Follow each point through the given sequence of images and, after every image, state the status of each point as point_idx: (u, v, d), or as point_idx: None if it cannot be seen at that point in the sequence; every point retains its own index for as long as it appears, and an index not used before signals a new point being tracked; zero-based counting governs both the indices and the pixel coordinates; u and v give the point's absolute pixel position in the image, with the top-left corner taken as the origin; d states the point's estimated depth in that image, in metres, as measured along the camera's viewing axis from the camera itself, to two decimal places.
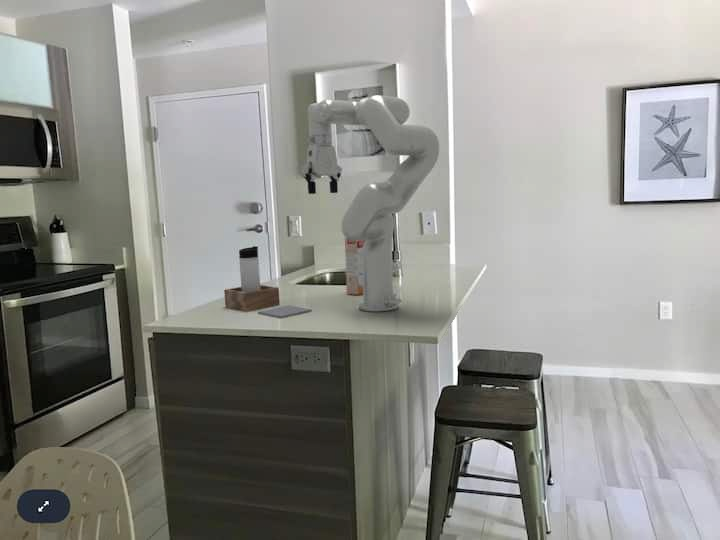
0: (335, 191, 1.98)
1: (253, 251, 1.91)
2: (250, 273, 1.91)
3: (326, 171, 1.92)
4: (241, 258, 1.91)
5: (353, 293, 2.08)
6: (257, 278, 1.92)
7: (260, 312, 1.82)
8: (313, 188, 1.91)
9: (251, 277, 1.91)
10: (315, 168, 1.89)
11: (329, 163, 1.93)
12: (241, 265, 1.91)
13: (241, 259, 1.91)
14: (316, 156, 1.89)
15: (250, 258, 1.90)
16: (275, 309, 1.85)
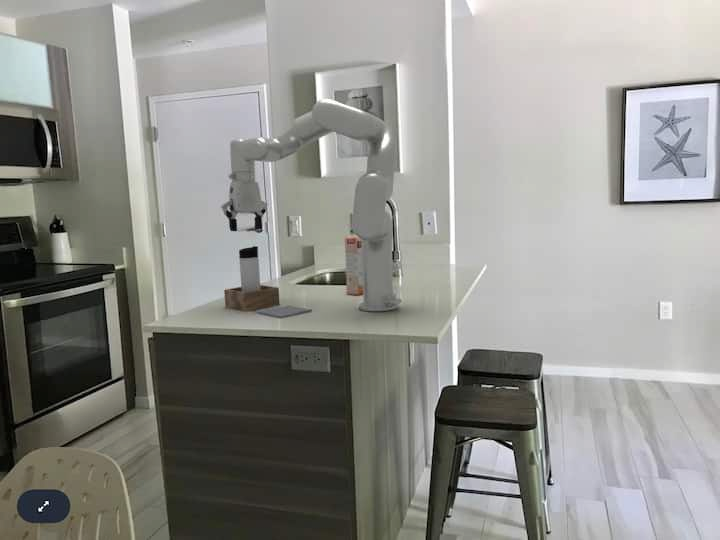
0: (259, 227, 1.94)
1: (253, 251, 1.91)
2: (250, 273, 1.91)
3: (248, 208, 1.89)
4: (241, 258, 1.91)
5: (353, 293, 2.08)
6: (257, 278, 1.92)
7: (260, 312, 1.82)
8: (234, 225, 1.87)
9: (251, 277, 1.91)
10: (236, 205, 1.86)
11: (252, 200, 1.89)
12: (241, 265, 1.91)
13: (241, 259, 1.91)
14: (237, 193, 1.86)
15: (250, 258, 1.90)
16: (275, 309, 1.85)
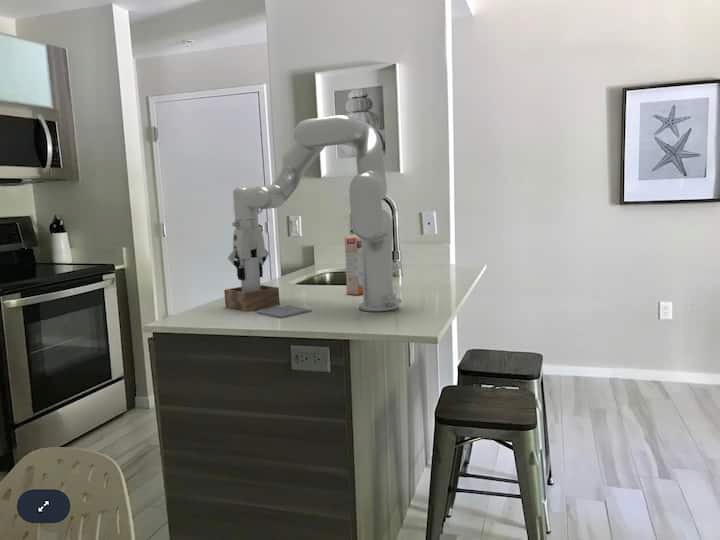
0: (260, 276, 1.95)
1: (253, 251, 1.91)
2: (251, 273, 1.91)
3: None
4: None
5: (353, 293, 2.08)
6: (257, 278, 1.93)
7: (260, 312, 1.82)
8: (242, 274, 1.90)
9: (251, 276, 1.91)
10: (240, 253, 1.88)
11: (255, 246, 1.91)
12: None
13: None
14: (241, 241, 1.88)
15: (251, 258, 1.90)
16: (275, 309, 1.85)
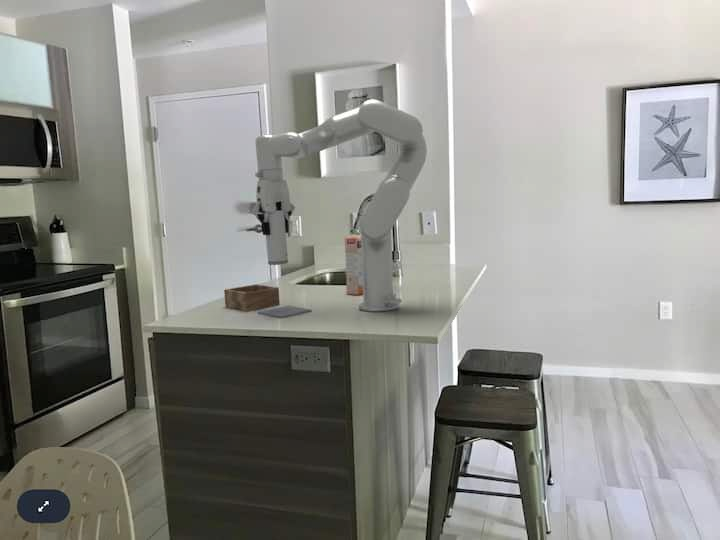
0: (286, 231, 1.83)
1: (278, 203, 1.78)
2: (276, 227, 1.78)
3: None
4: None
5: (353, 293, 2.08)
6: (283, 233, 1.80)
7: (260, 312, 1.82)
8: (267, 229, 1.78)
9: (276, 231, 1.78)
10: (264, 205, 1.75)
11: (280, 199, 1.79)
12: None
13: None
14: (265, 193, 1.75)
15: (276, 211, 1.78)
16: (275, 309, 1.85)
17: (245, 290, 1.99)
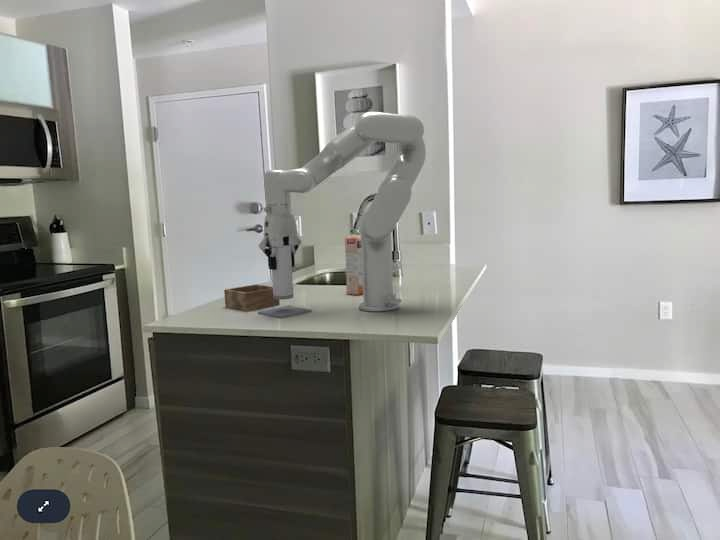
0: (292, 265, 1.82)
1: (286, 238, 1.77)
2: (283, 262, 1.77)
3: None
4: None
5: (353, 293, 2.08)
6: (289, 267, 1.79)
7: (260, 312, 1.82)
8: (273, 264, 1.77)
9: (283, 266, 1.78)
10: (272, 240, 1.74)
11: (288, 234, 1.78)
12: None
13: None
14: (273, 228, 1.74)
15: (283, 246, 1.77)
16: (275, 309, 1.85)
17: (245, 290, 1.99)
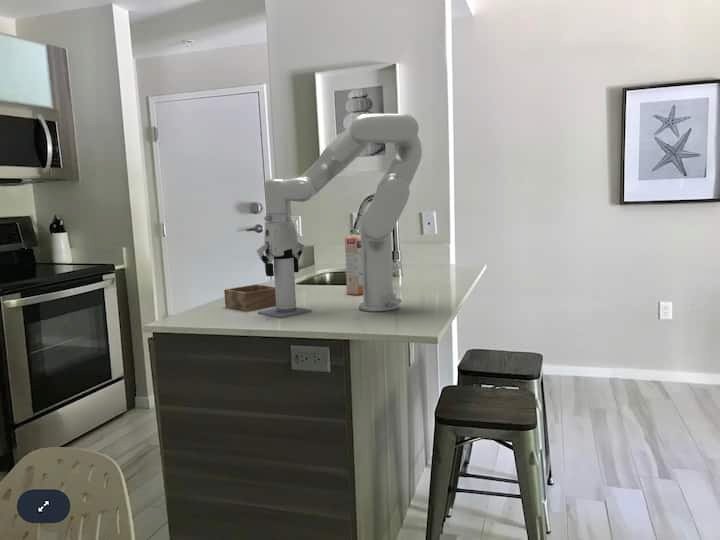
0: (296, 271, 1.83)
1: (288, 251, 1.78)
2: (286, 275, 1.78)
3: None
4: (275, 259, 1.78)
5: (353, 293, 2.08)
6: (292, 280, 1.80)
7: (260, 312, 1.82)
8: (271, 270, 1.76)
9: (286, 279, 1.78)
10: (272, 249, 1.75)
11: (288, 242, 1.78)
12: (275, 266, 1.79)
13: (275, 260, 1.78)
14: (273, 237, 1.75)
15: (286, 259, 1.78)
16: (275, 309, 1.85)
17: (245, 290, 1.99)
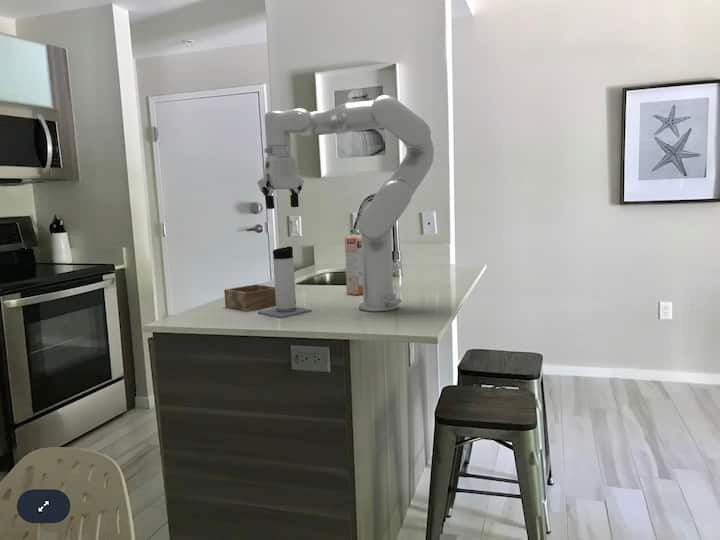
0: (296, 205, 1.84)
1: (288, 251, 1.78)
2: (285, 275, 1.78)
3: (285, 184, 1.78)
4: (275, 259, 1.78)
5: (353, 293, 2.08)
6: (292, 280, 1.80)
7: (260, 312, 1.82)
8: (271, 203, 1.77)
9: (286, 279, 1.78)
10: (273, 181, 1.75)
11: (288, 175, 1.79)
12: (275, 266, 1.79)
13: (275, 260, 1.78)
14: (274, 168, 1.75)
15: (285, 259, 1.78)
16: (275, 309, 1.85)
17: (245, 290, 1.99)
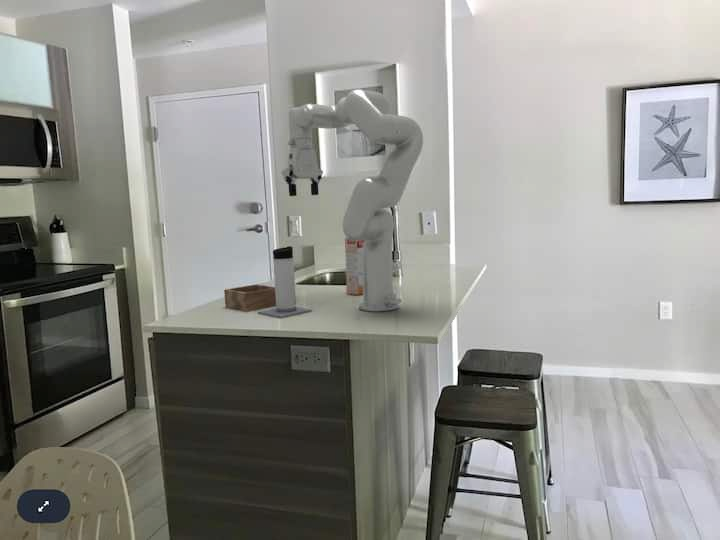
0: (316, 193, 2.02)
1: (288, 251, 1.78)
2: (285, 275, 1.78)
3: (306, 174, 1.97)
4: (275, 259, 1.78)
5: (353, 293, 2.08)
6: (292, 280, 1.80)
7: (260, 312, 1.82)
8: (294, 190, 1.95)
9: (286, 279, 1.78)
10: (295, 171, 1.94)
11: (309, 166, 1.97)
12: (275, 266, 1.79)
13: (275, 260, 1.78)
14: (296, 159, 1.94)
15: (285, 259, 1.78)
16: (275, 309, 1.85)
17: (245, 290, 1.99)
